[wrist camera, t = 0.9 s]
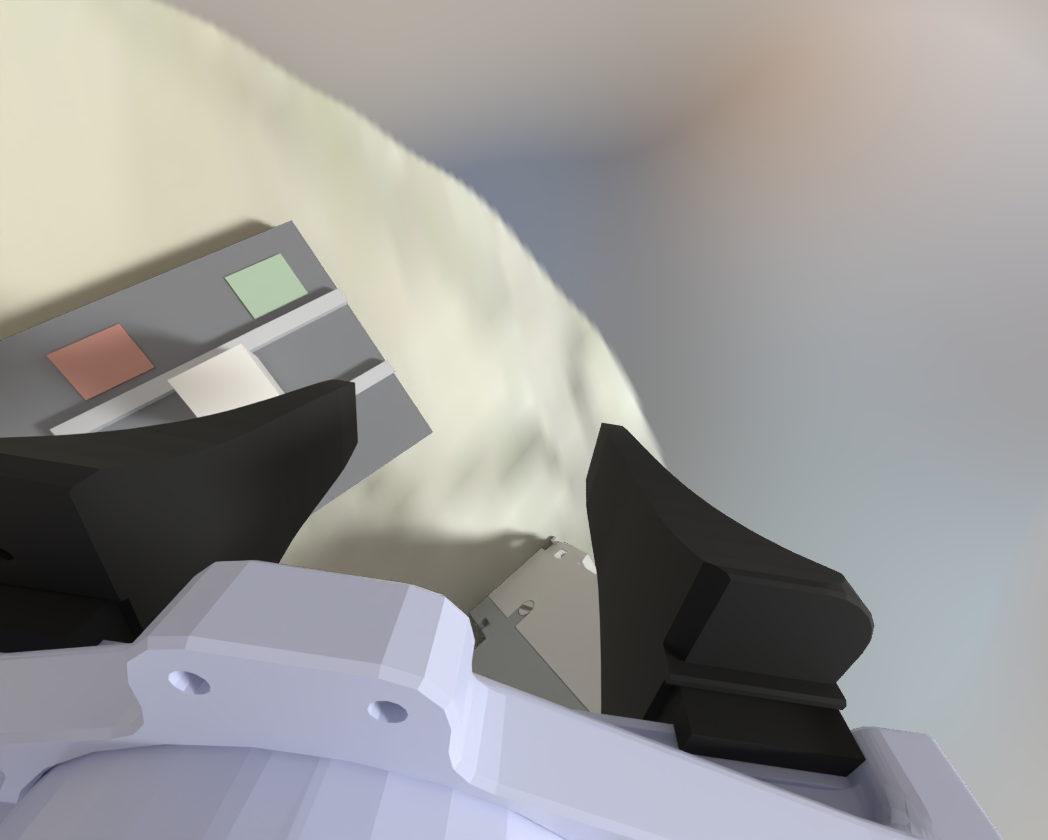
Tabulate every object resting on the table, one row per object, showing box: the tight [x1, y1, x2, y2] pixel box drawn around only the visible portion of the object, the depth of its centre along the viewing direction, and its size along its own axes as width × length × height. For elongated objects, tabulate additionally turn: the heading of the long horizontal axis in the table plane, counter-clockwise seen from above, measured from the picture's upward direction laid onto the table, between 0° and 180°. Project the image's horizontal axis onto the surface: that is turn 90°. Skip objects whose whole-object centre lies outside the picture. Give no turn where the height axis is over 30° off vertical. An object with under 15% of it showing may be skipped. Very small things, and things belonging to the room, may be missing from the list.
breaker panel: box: [0, 220, 433, 515], centre depth 22 cm, size 18×14×3 cm
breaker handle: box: [167, 344, 285, 417], centre depth 20 cm, size 3×3×5 cm
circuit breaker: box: [470, 536, 601, 714], centre depth 24 cm, size 8×14×15 cm, turn 124°
